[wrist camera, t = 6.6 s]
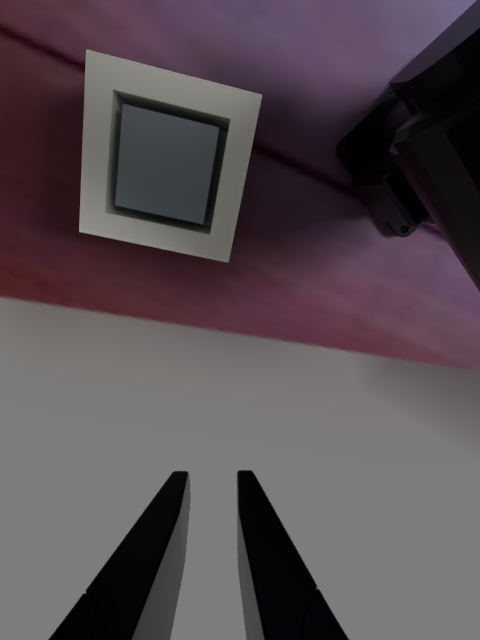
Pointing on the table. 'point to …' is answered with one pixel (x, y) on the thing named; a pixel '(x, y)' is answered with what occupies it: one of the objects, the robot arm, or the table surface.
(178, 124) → the button
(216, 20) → the table surface
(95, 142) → the switch box
